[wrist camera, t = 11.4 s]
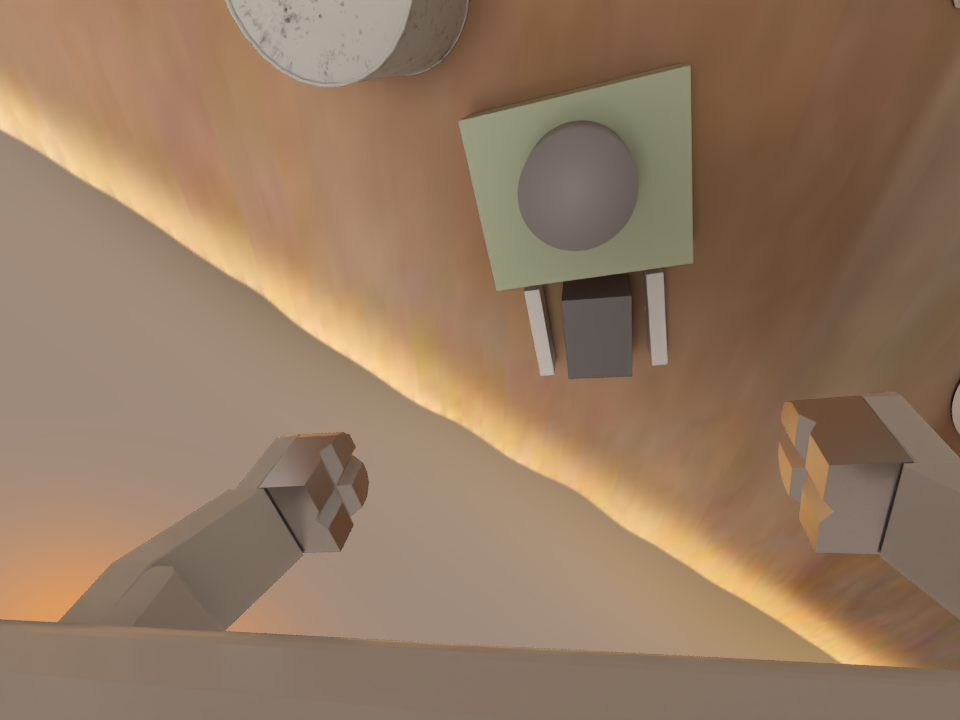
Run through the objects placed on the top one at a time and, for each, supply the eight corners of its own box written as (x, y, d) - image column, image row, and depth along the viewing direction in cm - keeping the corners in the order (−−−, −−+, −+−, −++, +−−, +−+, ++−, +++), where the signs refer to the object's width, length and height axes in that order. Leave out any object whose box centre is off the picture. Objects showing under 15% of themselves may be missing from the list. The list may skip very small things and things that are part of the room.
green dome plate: (679, 63, 32) (704, 67, 25) (686, 346, 42) (705, 403, 35) (470, 114, 35) (443, 129, 29) (523, 362, 45) (512, 416, 39)
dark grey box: (627, 272, 39) (631, 295, 36) (628, 347, 43) (632, 376, 39) (563, 277, 41) (561, 301, 37) (570, 350, 44) (568, 378, 40)
